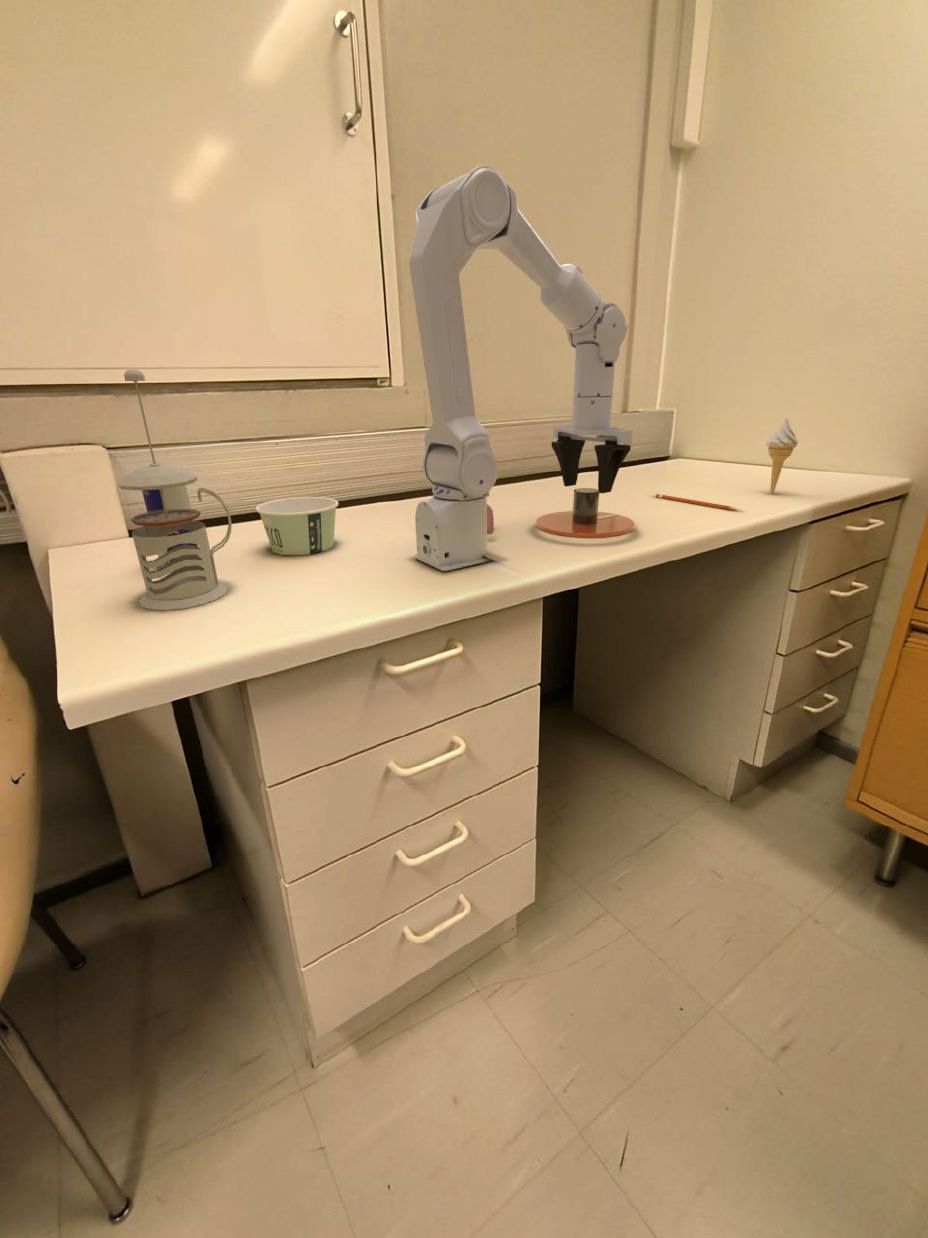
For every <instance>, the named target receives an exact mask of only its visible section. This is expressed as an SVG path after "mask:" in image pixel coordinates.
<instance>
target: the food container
mask: <svg viewBox="0 0 928 1238" xmlns="http://www.w3.org/2000/svg"><path fill="white" fill-rule="evenodd" d="M338 506H339V501H338V500H337V499H333V498H330V497H324V496H298V497H287V498H280V499H275V500H274V499H273V500H269V501H267V502H263V503H260V504H258V505H257V506H256V507H255V511H256V513H258V514H259V517H260V519H261V521H262V524H263V527H264V530H265V533H266V537H267V539H268V542H269V544H270V545H269V546H270V547H271V551H272V552H273V553H275V554H278V555H282V556H307V555H313V554H317V553H322V552H325V551H327V550H330V549H331V548H333V547H334V545H335V532H336V531H335V529H336V512H337V511H336V510H337V507H338Z"/></svg>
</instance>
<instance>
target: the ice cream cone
mask: <svg viewBox="0 0 928 1238" xmlns="http://www.w3.org/2000/svg"><path fill="white" fill-rule="evenodd" d="M798 443H799V440H798V439H797V437H796V435H795V433H794V431H793V429H792V428H791V425H790V423H789V419H788V417H785V419H784V421H783V422H782V423H781V424H780V425H779V427H778V428H777V429H776V430H775V431H774V432H773V433H772V434H771V435H770V436H769V437H768V438H767V440H766V447H768V448H767V450H768V455H769V457H770V458H771V460H772V465H771V475H770V476H771V477H770V488H769V493H770V495H773V494H774V493H775V491H776V487H777V484H778V482H779V478H780V475H781V472H782V469H783V467H784V466H783V465H784V462H785V461H786V460H787V459H788V458H789V457H790V456H792V454H793V451H794V448H797V445H798Z"/></svg>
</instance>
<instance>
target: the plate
mask: <svg viewBox="0 0 928 1238" xmlns="http://www.w3.org/2000/svg"><path fill="white" fill-rule="evenodd" d="M572 495H573V498H572V499H573V500H572V510H565V511H557V512H551V513H547V514H543V515H541V516H539V517H538V518H536V520H535V527H537V528H538V529H539V530H541V531H543V532H545V533H548V534H553V535H558V536H562V537H569V538H570V537H571V538H593V539H594V538H607V537H608V538H609V537H616V536H617V537H618V536H622V535H625V534H628V533H630V532H632V531H633V530H634V529H635V525H636V523H635V521H634V520H633V519H631V518H630V517H627V516H624V515H620V514H617V513H611V512H604V511H599V504H600V503H599V502H600V493H599V490H598V488H592V487H578V488H575V489H573V494H572Z"/></svg>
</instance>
